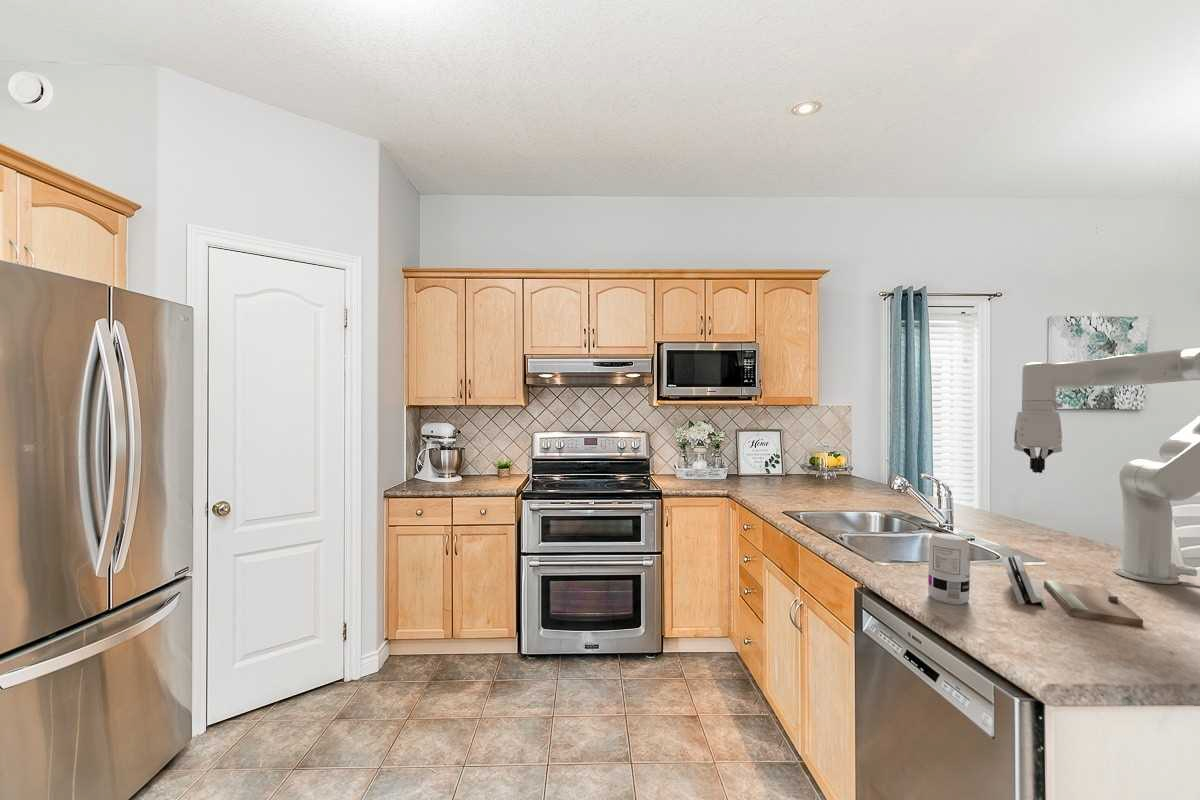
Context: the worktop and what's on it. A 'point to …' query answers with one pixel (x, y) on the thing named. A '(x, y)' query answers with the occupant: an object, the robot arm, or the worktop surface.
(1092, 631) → the worktop surface
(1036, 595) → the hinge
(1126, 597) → the worktop surface
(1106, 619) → the door panel
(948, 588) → the supplement can
